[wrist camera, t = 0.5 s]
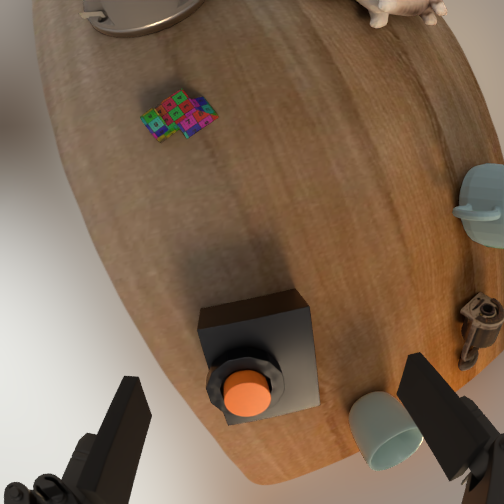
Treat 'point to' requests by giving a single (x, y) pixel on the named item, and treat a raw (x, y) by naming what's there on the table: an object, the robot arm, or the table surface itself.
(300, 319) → the control block
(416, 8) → the toy
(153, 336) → the table surface
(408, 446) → the cup
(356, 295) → the table surface
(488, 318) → the grey machine part
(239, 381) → the button
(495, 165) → the mug
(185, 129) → the block
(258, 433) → the table surface
